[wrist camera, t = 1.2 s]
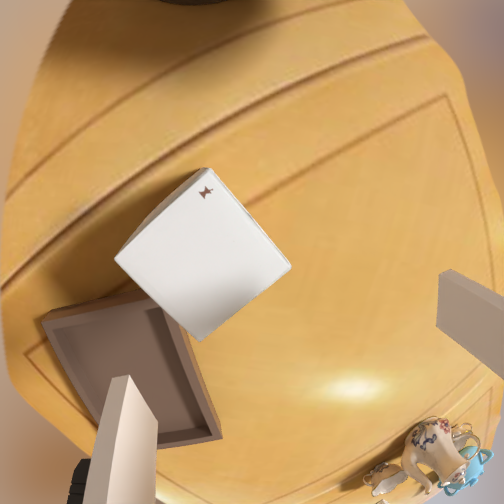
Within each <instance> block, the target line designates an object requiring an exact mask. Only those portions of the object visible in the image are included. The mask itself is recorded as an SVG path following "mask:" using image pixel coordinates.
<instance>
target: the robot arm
mask: <svg viewBox="0 0 504 504" xmlns="http://www.w3.org/2000/svg"><path fill="white" fill-rule="evenodd" d="M161 1H164V2H169V3H174V4H183V5H202V4H211V3H217V2H222V1H226V0H161ZM436 327H437V328H439V329H440V330H441V331H443V332H444V333H445V334H447V335H448V336H449V337H451V338H452V339H453V340H454V341H456V342H457V343H458V344H460V345H461V346H462V347H463V348H465V349H466V350H467V351H468V352H470V353H471V354H472V355H474V356H475V357H476V358H477V359H479V360H480V361H481V362H482V363H484V364H485V365H486V366H487V367H488V368H490V369H491V370H492V371H493V372H495V373H496V374H497V375H498V376H500V377H501V378H502V379H503V380H504V297H503V296H501V295H499V294H497V293H495V292H494V291H492V290H490V289H488V288H486V287H484V286H482V285H481V284H479V283H477V282H475V281H473V280H471V279H469V278H467V277H465V276H463V275H461V274H459V273H457V272H455V271H454V270H452V269H449V270H447V271H445V272H443V273H441V274H439V288H438V307H437V321H436ZM157 432H158V421H157V419H156V418H155V416H154V415H153V413H152V412H151V410H150V409H149V407H148V405H147V404H146V402H145V400H144V399H143V397H142V395H141V394H140V392H139V390H138V389H137V387H136V385H135V384H134V382H133V380H132V378H131V377H130V375H125V376H120V377H114V378H112V380H111V383H110V387H109V390H108V394H107V397H106V401H105V405H104V408H103V412H102V416H101V420H100V424H99V428H98V432H97V436H96V440H95V445H94V449H93V453H92V458H91V459H81V461H80V462H79V464H78V465H77V467H76V468H75V470H74V473H73V477H72V481H71V483H72V485H71V486H70V491H69V493H70V495H68V500H67V504H155V486H156V452H157Z"/></svg>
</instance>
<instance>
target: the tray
mask: <svg viewBox="0 0 504 504" xmlns="http://www.w3.org/2000/svg"><path fill="white" fill-rule="evenodd" d="M41 324H42V326H43V328H44V330H45V333H46V335H47V337H48V339H49V341H50V343H51V345H52V347H53V349H54V351H55V353H56V355H57V357H58V359H59V361H60V363H61V365H62V366H63V368H64V370H65V372H66V374H67V375H68V377H69V379H70V381H71V382H72V384H73V386H74V388H75V389H76V391H77V393H78V394H79V396H80V398H81V399H82V401H83V402H84V404H85V406H86V407H87V409H88V410H89V412H90V413H91V415H92V416H93V418H94V419H95V421H96V422H97V424H98V425H99V424H100V420H101V416H102V412H103V408H104V405H105V401H106V397H107V394H108V390H109V387H110V383H111V380H112V378H114V377H120V376H125V375H130V377H131V378H132V380H133V382H134V384H135V385H136V387H137V389H138V390H139V392H140V394H141V395H142V397H143V399H144V400H145V402H146V404H147V405H148V407H149V409H150V410H151V412H152V413H153V415H154V416H155V418H156V419H157V421H158V432H157V449H166V448H173V447H180V446H186V445H192V444H198V443H204V442H209V441H214V440H219V439H223V437H222V431H221V425H220V421H219V418H218V416H217V413H216V411H215V408H214V406H213V403H212V401H211V398H210V396H209V393H208V390H207V388H206V385H205V383H204V380H203V377H202V375H201V372H200V369H199V366H198V364H197V361H196V358H195V355H194V352H193V350H192V347H191V344H190V341H189V338H188V335H187V332H186V330H185V329H184V328H183V327H182V326H181V325H180V324H178V323H177V322H176V321H175V320H174V319H173V318H172V317H171V316H170V315H169V314H168V313H166V312H165V311H164V310H163V309H162V308H161V307H160V306H159V305H158V304H157V303H156V302H155V301H154V300H153V299H152V298H151V297H150V296H149V295H148V294H147V293H146V292H145V291H144V290H143V289H139V290H134V291H130V292H126V293H122V294H117V295H113V296H109V297H105V298H100V299H96V300H92V301H87V302H83V303H79V304H74V305H70V306H66V307H61V308H57V309H52V310H51V311H50V312H49V313H48V314H47V315H46V317H45V318H44V319H43V320H42V321H41Z"/></svg>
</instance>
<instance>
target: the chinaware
mask: <svg viewBox="0 0 504 504" xmlns="http://www.w3.org/2000/svg"><path fill="white" fill-rule="evenodd" d="M465 424H468V425H470V427H471V431H470V430H466V429H464V428H462V426H463V425H465ZM469 438H473V439H474V440H475V441H476V442H477V444H478V449H477V451H476V453H475V454H474V455H473V456H472V457H471V458H469V453H467V454H465V455H464V458H463V457H462V456H461V455H460V454H459V453H458V452H457V451H459V450H461V449H462V448H463V447H464V446H465V444H466V441H467V440H466V439H469ZM404 445H405V449H404V452H403V454H402V458H401V466H402V467H400V466H399V465H396V464H388V463H386V462H383V463H381V464H379V465H377V466H376V467H375V469H374V470H371V471H370V473H371V474H366V475H365V476H369V475H373V476H372V479H371V484H368V483H367V482H366V481H365V476H364V477H363V482H364V483H365V484H366V485H367V486H372V496H373V497H375V496H378V495H379V494H380V493H381V494H385V493H389V492H391V491H392V490H393V489H394V488H395V487H396V486H397V484H400V483H403V482H404V481H405V480H407V478H408V475H409V476H410V477H412V478H413V479H415V480H416V481H418V482H419V483H421V484H422V485H424V487H425V489H426V491H425V495H427V494H429V493H430V491H431V489H432V483H431V481H430V480H429V478H428V477H427V476H426V475H425V474H424V473H423V472H422V471H421V470H420V469H419V468H418V467H417V465H416V463H421V464H424V465H426V466H428V467H430V468H431V469H433V470H434V471H435V472H436V473H437V475H438V476H439V478H440V480H441V482H442V486H446V485H448V484H450V483H452V484H455V483H457V482H459V484H464V483H465V478H464V476H465V475H466V469H467V468H468V466H469V465H470V463H471V462H470V460H472V459H473V458H474V457H475V456H476V455H477V454H478V452H479V450H480V447H481V443H480V440H479V438H478V437H477V436H475V435H473V433H472V425H471V424H469V423H464V424H462V425H461V427H458V426H455V427H454V428H451V427H450V425H449V422H448V420H447V419H446V418H437V417H436V416H432V417H429V418H427V419H425V420H423V421H422V422H420V423H419V424H418V425H416V426H415V427H414V428H413V429H412V430H411V431H410V432H409V434H408V435H407V437H406V438H405V441H404ZM468 458H469V459H468ZM374 471H375V472H374Z"/></svg>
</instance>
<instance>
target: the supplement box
mask: <svg viewBox="0 0 504 504" xmlns="http://www.w3.org/2000/svg"><path fill="white" fill-rule="evenodd" d="M114 260H115V261H116V262H117V264H118V265H119V266H120V267H121V268H122V269H123V270H124V271H125V272H126V273H127V274H128V275H129V276H130V277H131V278H132V279H133V280H134V281H135V282H136V283H137V284H138V285H139V286H140V287H141V288H142V289H143V290H144V291H145V292H146V293H147V294H148V295H149V296H150V297H151V298H152V299H153V300H154V301H155V302H156V303H157V304H158V305H159V306H160V307H161V308H162V309H163V310H164V311H165V312H166V313H168V314H169V315H170V316H171V317H172V318H173V319H174V320H175V321H176V322H177V323H178V324H180V325H181V326H182V327H183V328H184V329H185V330H186V331H187V332H188V333H190V334H191V335H192V336H193V337H194V338H195V339H196V340H197V341H199V342H201V341H202V340H203V339H204V338H206V337H207V336H208V335H209V334H211V333H212V332H213V331H214V330H216V329H217V328H218V327H219V326H220V325H222V324H223V323H224V322H225V321H227V320H228V319H229V318H230V317H232V316H233V315H234V314H235V313H236V312H238V311H239V310H240V309H241V308H243V307H244V306H245V305H246V304H248V303H249V302H250V301H252V300H253V299H254V298H255V297H257V296H258V295H259V294H260V293H262V292H263V291H264V290H265V289H267V288H268V287H269V286H271V285H272V284H273V283H274V282H275V281H277V280H278V279H279V278H280V277H282V276H283V275H284V274H285V273H287V272H288V271H289V270H290V269H291V264H290V262H289V261H288V260H287V259H286V257H285V256H284V255H283V254H282V253H281V251H280V250H279V249H278V248H277V247H276V245H275V244H274V243H273V242H272V240H271V239H270V238H269V237H268V235H267V234H266V233H265V232H264V230H263V229H262V228H261V227H260V226H259V224H258V223H257V222H256V221H255V220H254V218H253V217H252V216H251V215H250V214H249V213H248V211H247V210H246V209H245V208H244V207H243V205H242V204H241V203H240V202H239V201H238V200H237V198H236V197H235V196H234V195H233V194H232V193H231V191H230V190H229V189H228V188H227V187H226V186H225V184H224V183H223V182H222V181H221V180H220V179H219V177H218V176H217V175H216V174H215V173H214V171H213V170H212V169H211V168H204V167H202V168H201V169H199V170H198V171H197V172H196V173H195V174H193V175H192V176H191V177H190V178H188V179H187V180H186V181H185V182H184V183H182V184H181V185H180V186H179V187H178V188H176V189H175V190H174V191H173V192H172V193H171V194H170V195H169V196H167V197H166V198H165V199H164V200H163V201H162V202H161V203H160V204H159V205H158V206H157V207H156V208H155V209H154V210H153V211H152V212H151V213H150V214H149V215H148V216H147V217H146V218H145V219H144V220H143V222H142V223H141V224H140V225H139V227H138V228H137V229H136V230H135V231H134V233H133V234H132V235H131V236H130V237H129V239H128V240H127V241H126V243H125V244H124V245H123V246H122V248H121V249H120V250H119V252H118V253H117V254H116V256H115V257H114Z"/></svg>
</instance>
